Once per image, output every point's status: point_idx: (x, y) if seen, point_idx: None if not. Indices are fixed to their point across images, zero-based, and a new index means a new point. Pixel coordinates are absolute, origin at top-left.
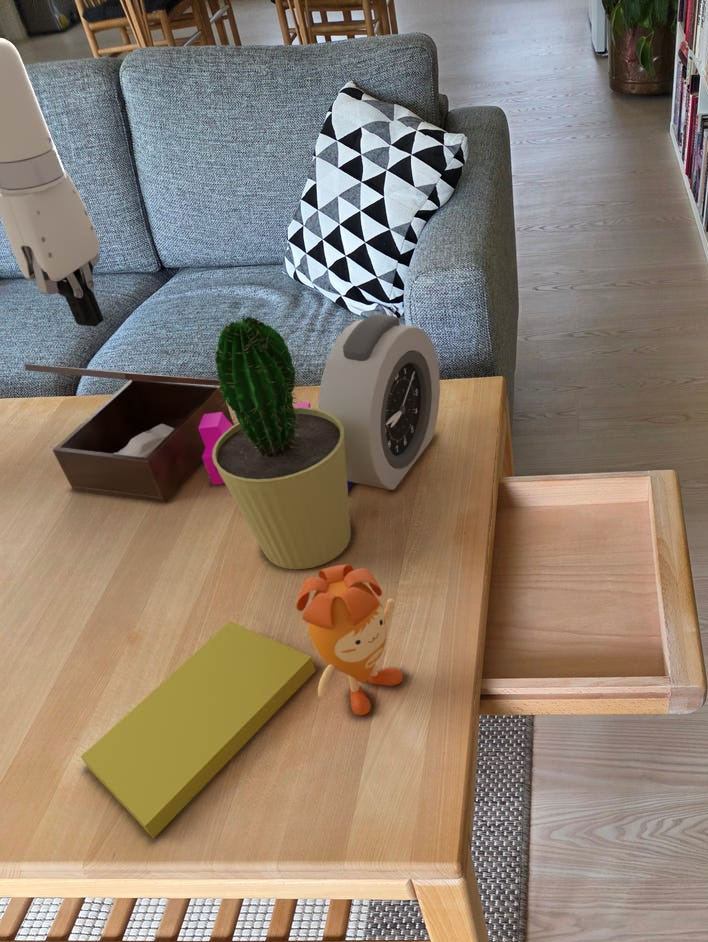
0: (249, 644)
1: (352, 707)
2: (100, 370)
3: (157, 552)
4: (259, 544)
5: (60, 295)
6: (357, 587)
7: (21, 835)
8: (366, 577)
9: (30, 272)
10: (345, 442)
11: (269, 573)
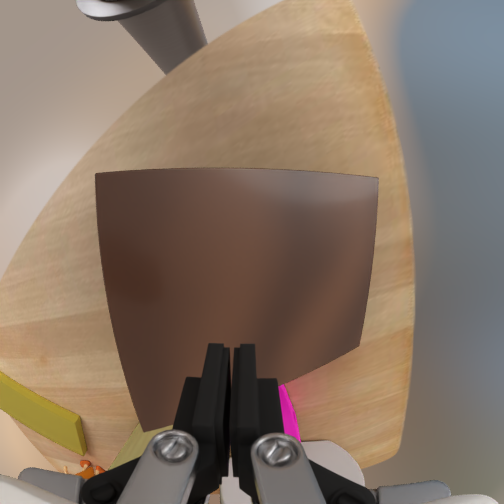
0: (70, 433)
1: (80, 462)
2: (172, 345)
3: (106, 340)
4: (138, 425)
5: (153, 437)
6: None
7: None
8: None
9: (9, 496)
10: (220, 497)
11: (129, 423)
